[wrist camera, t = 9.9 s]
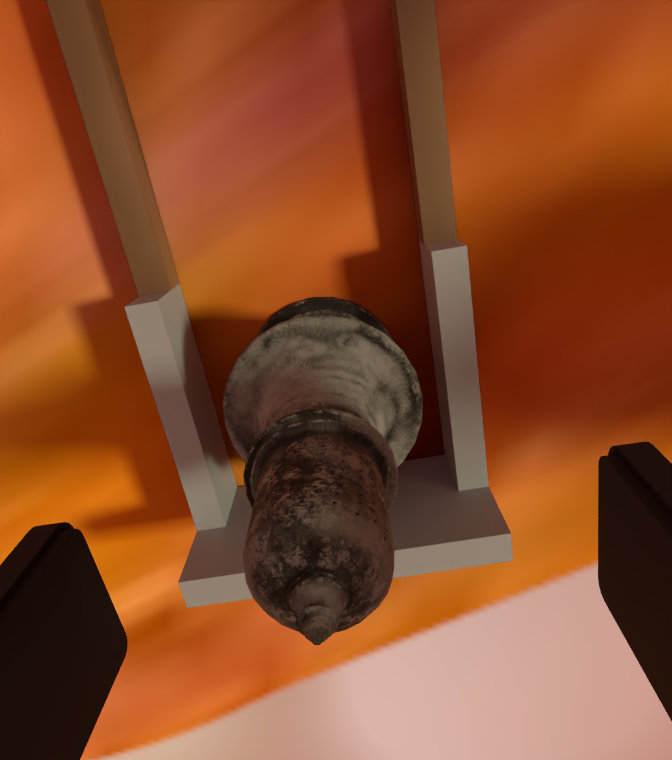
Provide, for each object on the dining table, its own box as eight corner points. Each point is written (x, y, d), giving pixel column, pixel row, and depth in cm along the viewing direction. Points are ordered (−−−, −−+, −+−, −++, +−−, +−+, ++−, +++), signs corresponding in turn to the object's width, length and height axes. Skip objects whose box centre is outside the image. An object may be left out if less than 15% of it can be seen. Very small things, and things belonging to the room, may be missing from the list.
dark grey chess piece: (396, 274, 18) (499, 445, 7) (416, 431, 21) (518, 751, 9) (223, 303, 19) (65, 508, 8) (260, 454, 21) (179, 792, 10)
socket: (449, 234, 18) (490, 260, 13) (473, 472, 21) (512, 560, 17) (150, 288, 19) (89, 331, 14) (218, 512, 22) (187, 607, 17)
